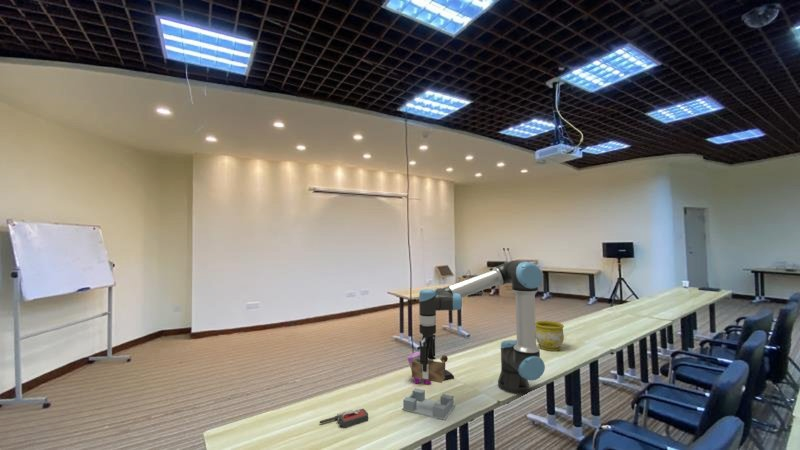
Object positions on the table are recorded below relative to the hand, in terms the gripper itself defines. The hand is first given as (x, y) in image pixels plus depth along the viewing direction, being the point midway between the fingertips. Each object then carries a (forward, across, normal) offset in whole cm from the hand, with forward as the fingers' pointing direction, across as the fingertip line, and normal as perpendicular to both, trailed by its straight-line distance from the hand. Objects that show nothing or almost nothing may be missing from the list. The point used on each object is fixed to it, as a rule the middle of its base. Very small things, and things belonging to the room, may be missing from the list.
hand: (428, 375), depth 155 cm
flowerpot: (+14, -112, +44) cm, 121 cm away
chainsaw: (+15, +26, -27) cm, 40 cm away
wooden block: (+1, 0, 0) cm, 1 cm away
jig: (+14, 0, 0) cm, 14 cm away
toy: (+14, -26, -15) cm, 33 cm away
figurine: (+14, -34, -5) cm, 38 cm away
